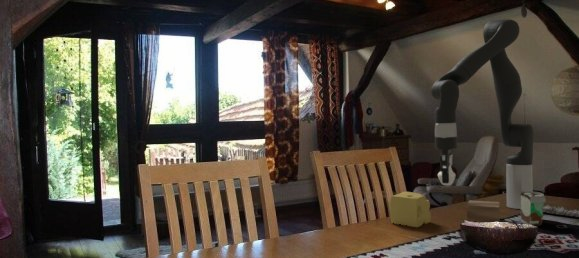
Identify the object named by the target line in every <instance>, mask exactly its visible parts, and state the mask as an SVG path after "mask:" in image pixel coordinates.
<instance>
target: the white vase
mask: <svg viewBox="0 0 579 258" xmlns="http://www.w3.org/2000/svg"><path fill="white" fill-rule="evenodd" d="M443 168H446V167H443ZM456 175H457V174H456V173H455V172H454V170H453V168H452V167H449V183H442V172H441V170H439V172H438V173H437V177H438V180H439V182H440V184H441V185H442V186H452V185H453V183H454V181H455V179H456Z"/></svg>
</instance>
